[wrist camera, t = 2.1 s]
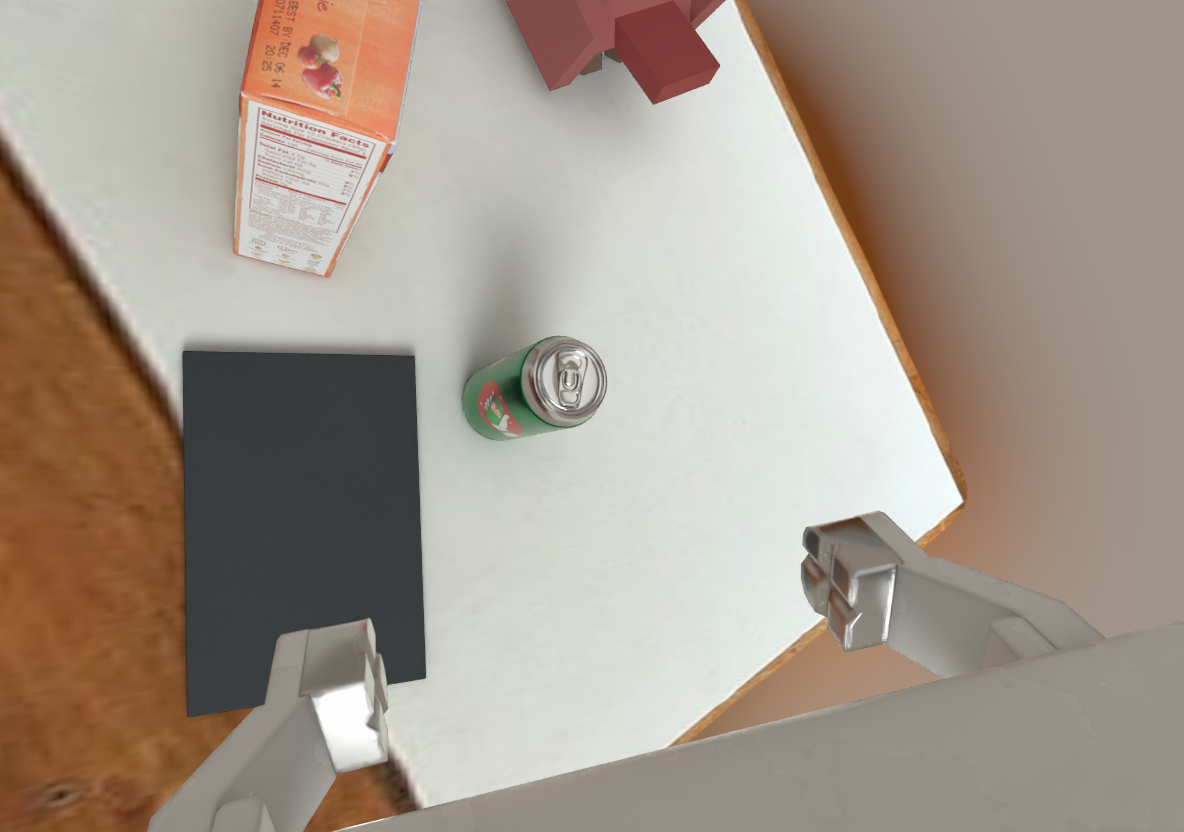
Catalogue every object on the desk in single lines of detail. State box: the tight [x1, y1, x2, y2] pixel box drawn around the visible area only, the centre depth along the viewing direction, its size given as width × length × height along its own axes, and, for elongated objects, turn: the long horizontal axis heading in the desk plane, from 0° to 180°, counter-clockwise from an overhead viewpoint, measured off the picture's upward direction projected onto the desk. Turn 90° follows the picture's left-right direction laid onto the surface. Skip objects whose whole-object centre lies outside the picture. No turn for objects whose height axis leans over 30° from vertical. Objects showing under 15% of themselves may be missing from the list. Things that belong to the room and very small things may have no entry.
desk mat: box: [183, 351, 426, 717], centre depth 46 cm, size 20×13×1 cm, turn 3°
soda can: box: [463, 336, 607, 440], centre depth 47 cm, size 5×5×12 cm
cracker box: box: [233, 0, 423, 277], centre depth 38 cm, size 14×6×21 cm, turn 171°
